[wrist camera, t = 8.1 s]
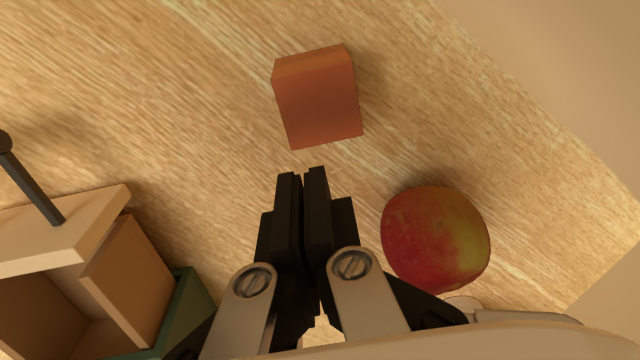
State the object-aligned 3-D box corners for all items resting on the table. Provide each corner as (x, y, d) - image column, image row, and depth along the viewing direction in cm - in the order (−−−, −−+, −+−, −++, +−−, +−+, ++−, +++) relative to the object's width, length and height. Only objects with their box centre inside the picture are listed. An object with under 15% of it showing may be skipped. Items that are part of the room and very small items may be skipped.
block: (275, 59, 22) (270, 79, 18) (342, 43, 22) (351, 60, 18) (292, 121, 24) (291, 151, 21) (354, 107, 24) (364, 135, 20)
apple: (370, 245, 31) (390, 324, 24) (373, 168, 27) (398, 239, 20) (454, 239, 31) (497, 316, 24) (471, 161, 27) (528, 229, 20)
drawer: (-91, 134, 22) (-225, 194, 17) (69, 96, 22) (-14, 145, 16) (87, 319, 33) (43, 394, 28) (198, 298, 32) (176, 371, 27)
